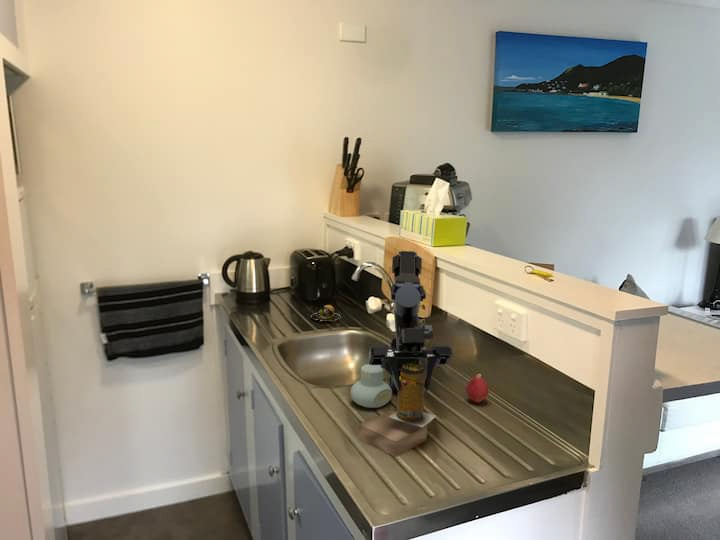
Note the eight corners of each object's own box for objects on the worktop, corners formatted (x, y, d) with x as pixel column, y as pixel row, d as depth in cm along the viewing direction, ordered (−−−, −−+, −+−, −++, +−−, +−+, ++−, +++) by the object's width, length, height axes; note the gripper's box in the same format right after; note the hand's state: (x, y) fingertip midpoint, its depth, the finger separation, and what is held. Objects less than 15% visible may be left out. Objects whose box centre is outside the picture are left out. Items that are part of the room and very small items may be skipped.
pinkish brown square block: (359, 440, 135) (359, 424, 134) (390, 425, 143) (391, 410, 142) (395, 458, 128) (396, 441, 127) (426, 441, 135) (427, 425, 135)
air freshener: (368, 415, 147) (369, 377, 145) (345, 404, 153) (346, 368, 151) (396, 402, 155) (397, 366, 153) (373, 393, 160) (374, 358, 158)
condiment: (403, 406, 139) (406, 358, 136) (436, 416, 134) (440, 367, 132) (388, 417, 133) (391, 368, 130) (422, 428, 128) (426, 377, 126)
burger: (308, 316, 231) (308, 298, 230) (337, 315, 235) (337, 297, 233) (314, 325, 220) (314, 306, 219) (344, 324, 223) (344, 305, 222)
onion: (471, 408, 153) (473, 379, 151) (461, 399, 158) (463, 371, 157) (491, 406, 154) (493, 377, 153) (481, 397, 160) (483, 369, 158)
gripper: (371, 311, 131) (375, 377, 123) (453, 311, 133) (462, 376, 124) (366, 333, 140) (370, 395, 132) (443, 333, 142) (451, 394, 134)
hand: (413, 390), depth 130 cm, fingers closed on condiment, 6 cm apart
